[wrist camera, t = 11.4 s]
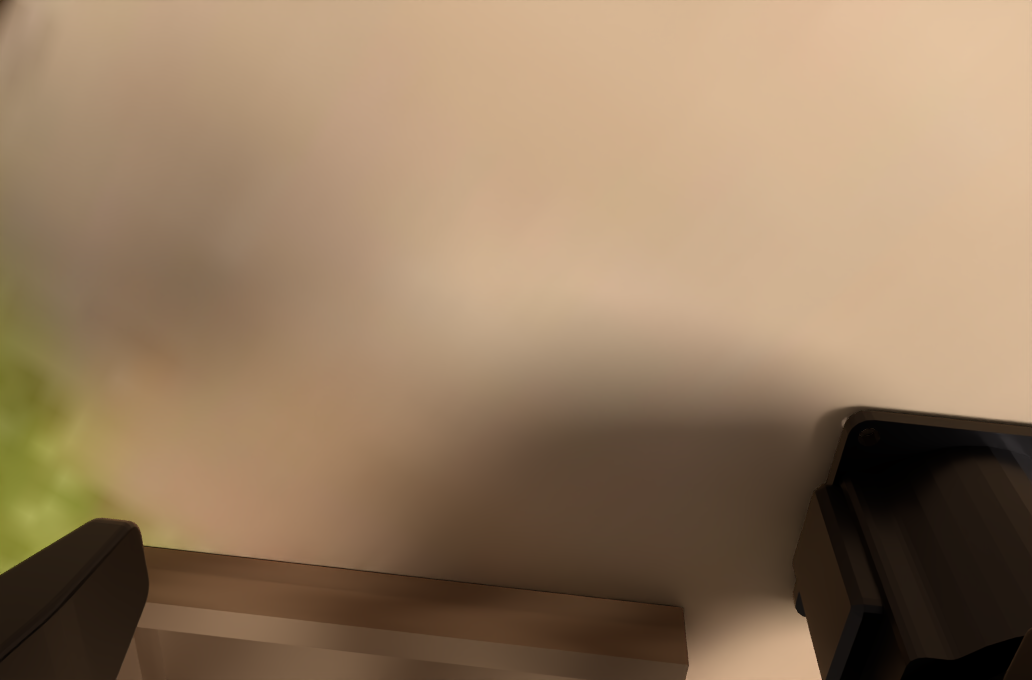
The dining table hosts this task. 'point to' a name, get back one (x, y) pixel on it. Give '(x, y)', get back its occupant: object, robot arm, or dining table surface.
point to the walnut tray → (384, 627)
